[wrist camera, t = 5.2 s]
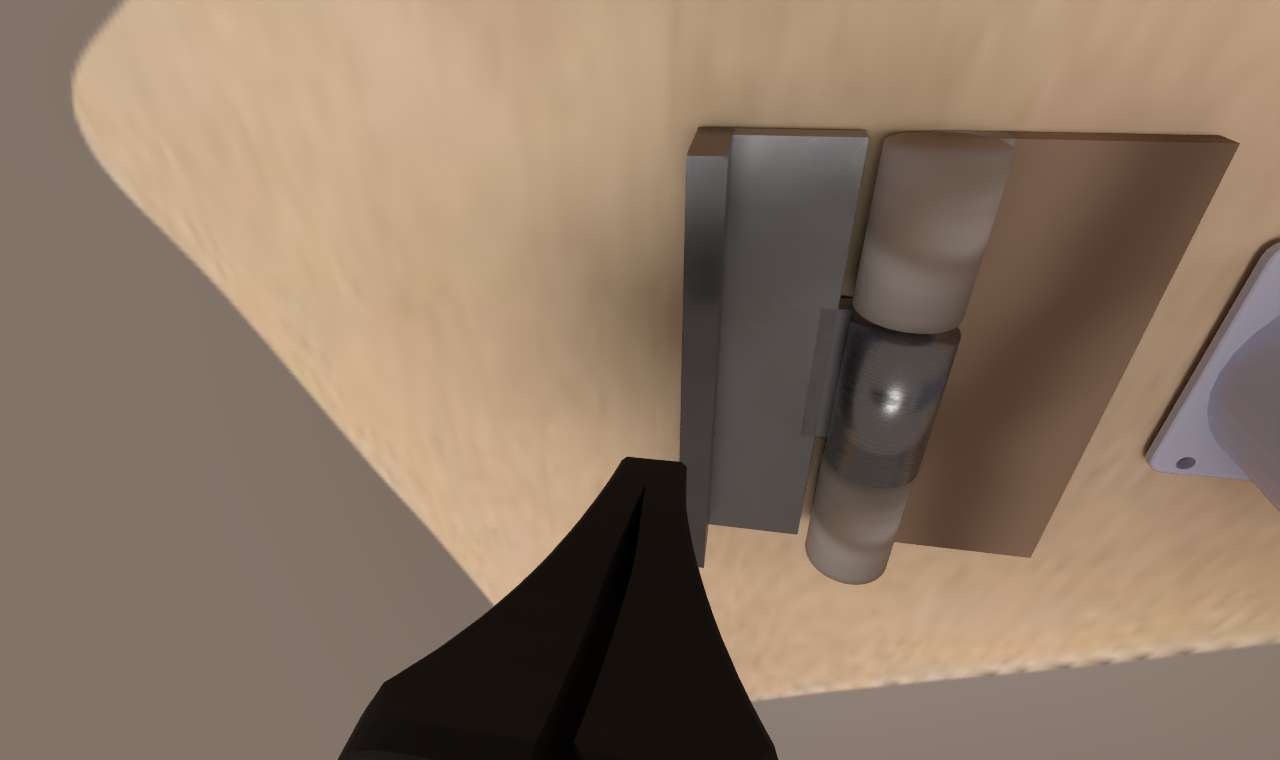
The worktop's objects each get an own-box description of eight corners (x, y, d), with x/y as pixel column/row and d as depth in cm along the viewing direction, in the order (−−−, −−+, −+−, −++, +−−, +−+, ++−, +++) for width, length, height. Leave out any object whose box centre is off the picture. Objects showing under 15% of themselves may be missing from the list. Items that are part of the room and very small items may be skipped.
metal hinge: (996, 133, 16) (1037, 165, 14) (881, 529, 25) (894, 594, 22) (698, 126, 17) (685, 156, 15) (686, 506, 26) (676, 566, 23)
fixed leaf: (1220, 135, 16) (1306, 170, 13) (1023, 541, 24) (1052, 610, 22) (875, 129, 17) (893, 159, 14) (803, 516, 25) (806, 578, 23)
